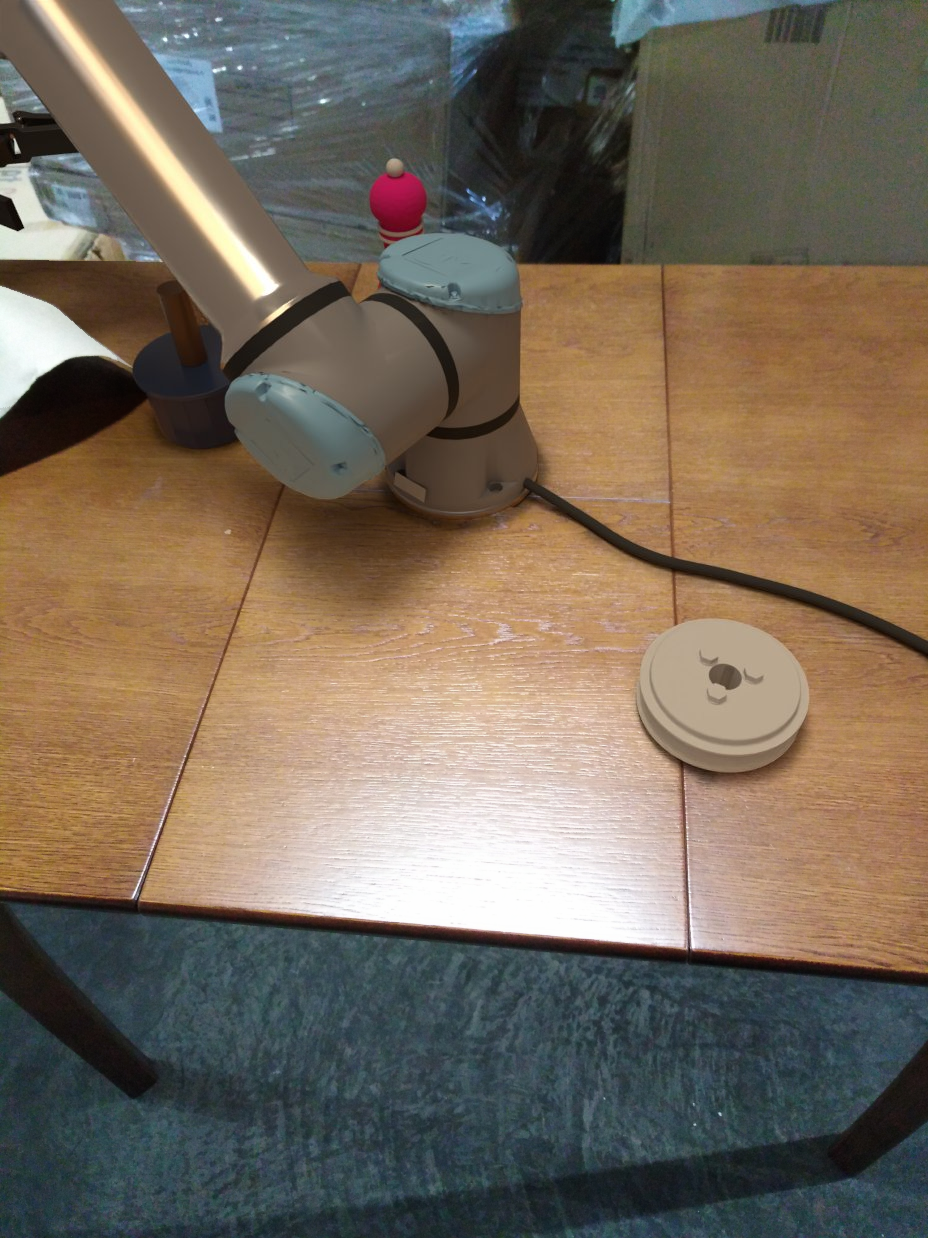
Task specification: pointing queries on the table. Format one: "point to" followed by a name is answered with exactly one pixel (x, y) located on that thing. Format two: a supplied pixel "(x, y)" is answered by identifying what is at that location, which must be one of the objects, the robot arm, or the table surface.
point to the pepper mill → (398, 204)
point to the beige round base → (721, 695)
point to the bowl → (194, 422)
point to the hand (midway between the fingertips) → (74, 183)
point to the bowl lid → (181, 354)
